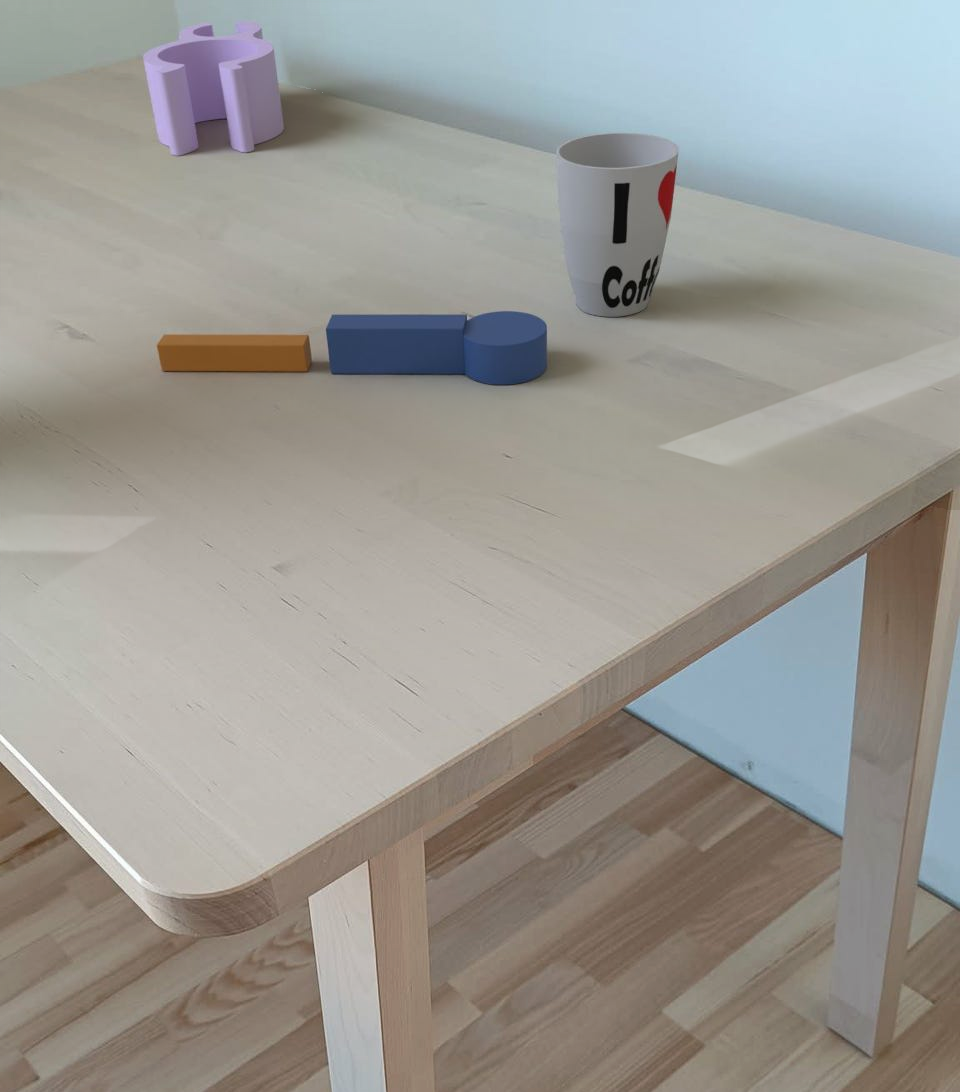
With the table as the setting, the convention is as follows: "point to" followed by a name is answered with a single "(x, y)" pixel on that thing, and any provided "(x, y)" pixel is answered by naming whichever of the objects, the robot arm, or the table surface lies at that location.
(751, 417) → the table surface
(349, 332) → the spoon
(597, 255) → the cup
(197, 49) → the clip
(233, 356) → the bar
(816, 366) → the table surface
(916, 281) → the table surface
